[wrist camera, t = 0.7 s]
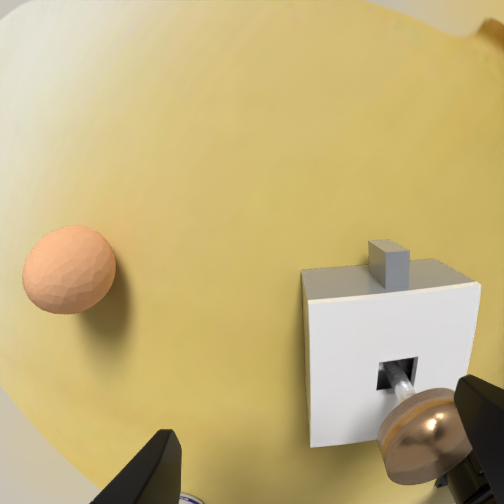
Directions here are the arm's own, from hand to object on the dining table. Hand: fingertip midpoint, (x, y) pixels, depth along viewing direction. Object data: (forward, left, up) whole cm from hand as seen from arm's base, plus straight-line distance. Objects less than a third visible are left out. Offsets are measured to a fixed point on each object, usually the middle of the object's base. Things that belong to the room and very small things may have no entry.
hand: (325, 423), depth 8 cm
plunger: (-4, -5, -10) cm, 12 cm away
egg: (+3, +15, -14) cm, 21 cm away
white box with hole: (-4, -5, -14) cm, 16 cm away
